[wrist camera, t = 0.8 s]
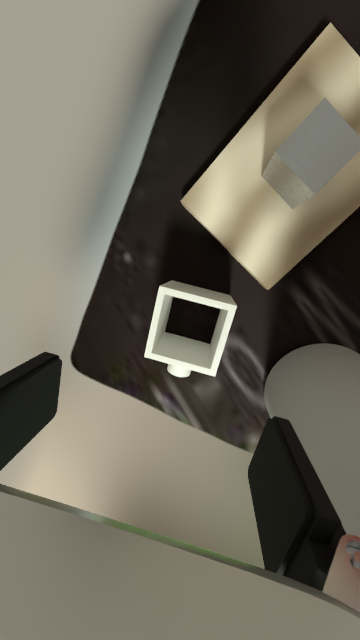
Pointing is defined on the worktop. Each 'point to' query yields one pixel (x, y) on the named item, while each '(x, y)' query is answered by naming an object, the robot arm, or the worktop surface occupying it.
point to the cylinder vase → (324, 418)
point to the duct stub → (311, 155)
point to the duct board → (255, 154)
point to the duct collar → (180, 349)
